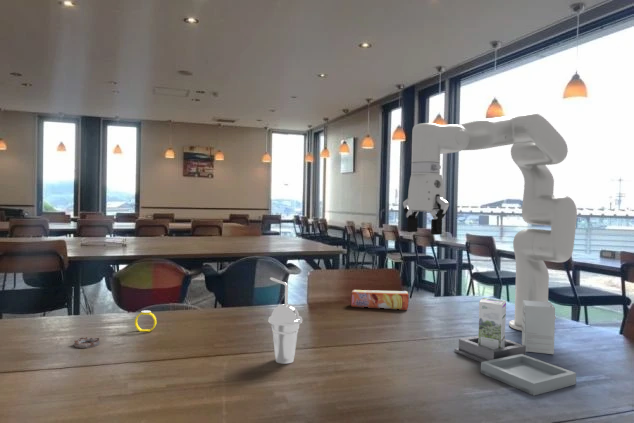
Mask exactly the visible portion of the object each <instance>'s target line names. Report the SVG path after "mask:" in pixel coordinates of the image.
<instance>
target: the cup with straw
mask: <svg viewBox="0 0 634 423" xmlns="http://www.w3.org/2000/svg"><path fill="white" fill-rule="evenodd" d="M269 280H271V281H272V282H275V283H279V284H281V285H284V304H279V305H278V306H276V307H275V308H274V309H273V311H272V313H271V315H270V316H269V317H268V320H267V322H268V323H269V324H270V326H271V332H272V337H273V338H272V339H273V346H274V347H273V348H274V349H273V350H274V357H275V362H276V363H278V364H282V365H283V364H284V365H286V364H291V363H294V361H295V360H294V359H295V355H296V348H297V340H298V333H299V329H300V324H302V323H303V322H304V321H303V317H302V316H301V315H300V313H299V311H298V309H297V308H296V307H295V306H294V305H291V304H289V301H288V300H289V295H288V294H289V284H288V283H287V282H285V281H284V280H283V281H282V280H279V279H277V278H275V277H272V276H270V278H269Z"/></svg>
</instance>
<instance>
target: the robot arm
mask: <svg viewBox="0 0 634 423" xmlns="http://www.w3.org/2000/svg"><path fill="white" fill-rule="evenodd" d="M411 132H412V134H411V171H410V172H411V173H410V174H411V175H410V178H409V183H408V192H407V193H408V194H407V198H406V199H405V200H404V201H402V206H403V209H404V212H405V217H406V218H407V220H406V222H407V228H406V232H407V233H417V232H418V227H419V226H418V220H419V218H418V217H417V216H418V214H419V212H426V213H427V212H429V213H430V215H431V217H432V218H431V222H430V224H431V225H430V234H431V235H432V236H433V235H435V236H436V235H437V236H438V235H442V234H443V220H444V219H445V216H446V215H447V213H448V208H449V206H450V203H449V202H448V201H447V200H446V199H445V187H444V181H443V176H442V174H441V173H440V172H441V166H442V165H441V155H442V154H452V153H453V154H454V153H458V152H461V151H477V150H486V149H490V148H491V149H492V148H497V147H502V146H503V147H505V146H510V145H511V148H510V156H511V159H512V160H513V162H514V164H515V165H516V166H517V167H518V168H519V169H520V170H519V171H521V174H522V176H523V181H524V183H523V184H524V185H523V188H524V189H523V196H522V197H523V198H522V207H521V217H522V220H523V221H524V222H525V223H527V224H529V225H535V226H547V227H549V226H550V229H543V228H542V229H541V228H526V229H521V230H519V231H518V232H516V233H515V235H514V237H513V239H512V240H513V241H512V246H513V252H514V259H515V285H514V286H515V289H514V290H515V291H514V292H515V293H514V319H512V320H509V321H508V322H509V323H508V325H509V327H510V328H512V329H514V330H517V331H521V332H522V319H523V300H528V301H541V302H549V280H550V276H549V275H550V274H549V271H548V267H547V265H546V262H552V263H565V262H567V261H568V260H570V258H571V257H572V254H573V252H574V247H575V240H576V239H575V238H576V229H577V217H578V210H577V205H576V203H575V201H574V200H573V199H572V198H571V197H569V195H564V194H554V188H555V187H554V186H555V183H554V182H555V178H554V175H553V174H552V171H551V170H550V168H548V167H547V166H550V165H558V164H560V163H562V162H563V161H564V160H566V158H567V155H568V152H569V151H568V145H567V142H566V140H565V139H564V137H563V136H562V135H561V134H560V133H559V131H557V129H556V128H555V127H554V126H553V124H551V122H549V121H548V119H546V118H545V117H544V116H543V115H541V114H540V113H537V112H533V111H532V112H525V113H520V114H514V115H509V116H507V115H506V116H500V117H493V118H483V119H479V120H473V121H470V122H466V123H465V122H464V123H462V124H461V123H460V124H437V123H434V122H433V123H431V122H423V123H422V122H421V123H418V124H415V125H414V126H413V127H412V131H411ZM555 320H556V316H555Z"/></svg>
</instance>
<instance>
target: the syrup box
mask: <svg viewBox="0 0 634 423" xmlns="http://www.w3.org/2000/svg"><path fill="white" fill-rule="evenodd" d="M478 304H479V305H478V335H477V336H478V344H480V345H483V346H486V347H488V348H491V349H498V348H503V347H505V339H506V319H507V318H506V316H507V301H506V300H505V299H504V300H503V299H497V298H495V299H494V298H487V297H483V298H481V299H480V300H479V303H478Z"/></svg>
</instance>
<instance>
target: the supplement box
mask: <svg viewBox="0 0 634 423" xmlns="http://www.w3.org/2000/svg"><path fill="white" fill-rule="evenodd" d="M555 317H556V308H555V306H554V305H553V304H552V302H550V301H548V302H541V301H528V300H523V319H522V331H521V344H522V345H525V346H526V352H529V353H536V354H537V353H539V354H547V355H548V354H549V355H555V329H556V328H555V326H556V319H555Z"/></svg>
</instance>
